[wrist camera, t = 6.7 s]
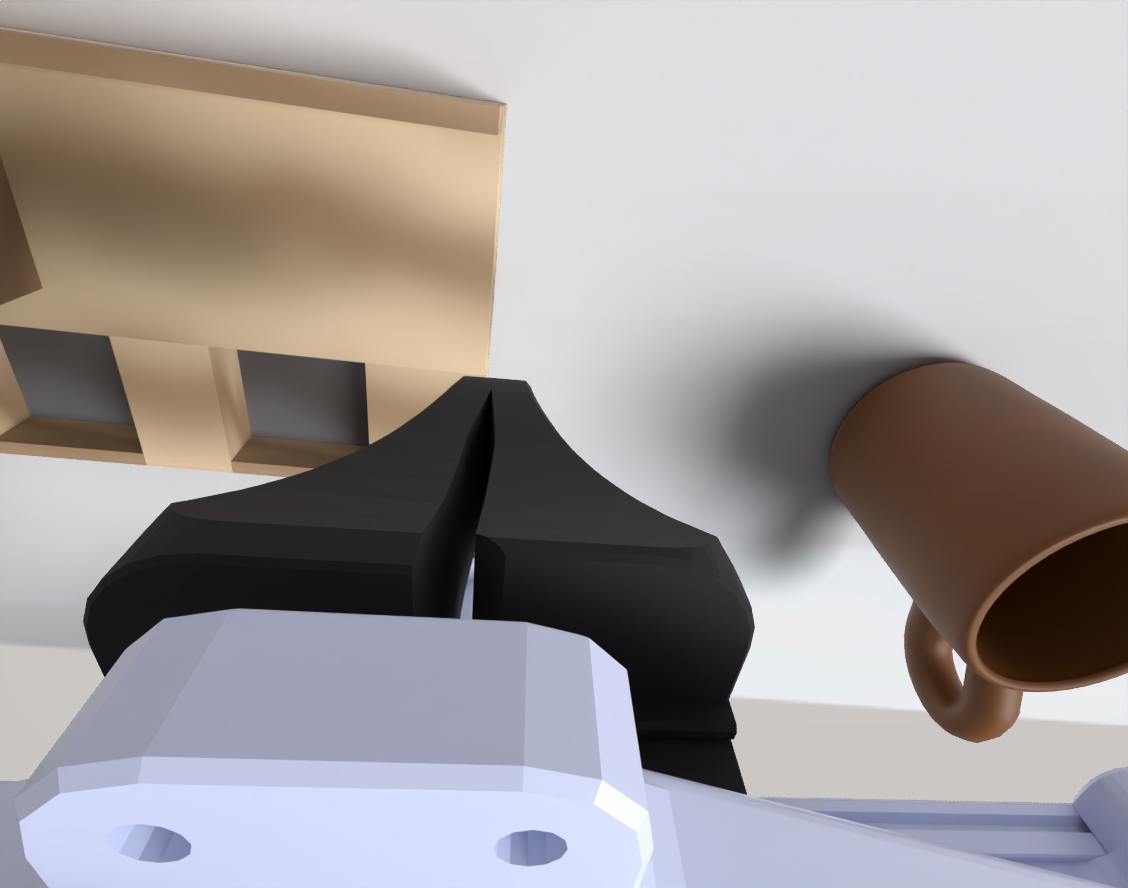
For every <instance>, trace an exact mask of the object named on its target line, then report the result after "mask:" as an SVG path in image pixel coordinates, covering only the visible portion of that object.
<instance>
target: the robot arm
mask: <svg viewBox="0 0 1128 888" xmlns="http://www.w3.org/2000/svg"><path fill="white" fill-rule="evenodd" d="M474 552H475V558H473V556H474ZM83 623H84V626H85V630H86V634H87V638H88V642H89V645H90V647H91V649H92V652H93V654H94V656H95V658H96V660H97V662H98V664H99V666H100V668H101V671H102V673H103V675H104V677H105V678H104V679H103V680H102V682H101V683H100V684H99V686H98V687H97V688H96V690H95V691H94V693H93V694H92V695H91V696H90V698H89V699H88V700H87V702H86V703H85V704H84V706H83V707H82V709H81V710H80V711H79V713H78V714H77V715H76V717H75V718H74V719H73V721H72V722H71V723H70V725H69V726H68V727H67V729H66V730H65V732H64V733H63V734H62V735H61V737H60V738H59V739H58V741H57V742H56V743H55V745H54V746H53V747H52V749H51V750H50V751H49V753H48V754H47V755H46V757H45V758H44V759H43V761H42V762H41V763H40V765H39V766H38V768H37V769H36V770H35V772H34V773H33V774H32V776H31V777H30V778H29V779H26V780H21V781H0V888H1128V767H1126V768H1117V769H1113V770H1110V771H1107V772H1105V773H1102V774H1100V775H1098V776H1097V777H1095V778H1094V779H1092V780H1090V781H1089V782H1088V783H1087V784H1086V785H1085V786H1084V787H1083V788H1082V789H1081V790H1080V791H1079V793H1078V794H1077V795H1076V796H1075V798H1074V801H1073V804H1072V803H1071V804H1069V803H1021V802H976V801H928V800H881V799H879V800H877V799H832V798H786V797H753V796H749V795H747V793H746V789H745V786H744V783H743V779H742V776H741V772H740V769H739V766H738V762H737V759H736V756H735V753H734V749H733V746H732V742H731V739H734V737H735V735H736V733H737V728H736V721H735V718H734V715H733V712H732V709H731V706H730V702H729V698H730V695H731V693H732V690H733V688H734V686H735V683H736V681H737V678H738V676H739V673H740V671H741V669H742V666H743V664H744V661H745V659H746V657H747V654H748V652H749V649H750V646H751V642H752V637H753V633H754V628H755V626H754V620H753V614H752V608H751V605H750V602H749V600H748V598H747V595H746V593H745V590H744V588H743V586H742V583H741V581H740V579H739V577H738V575H737V573H736V570H735V568H734V566H733V564H732V563H731V561H730V559H729V557H728V556H727V554H726V552H725V550H724V549H723V547H722V545H721V543H720V541H719V539H718V538H717V537H716V536H714V535H711V534H709V533H706V532H704V531H702V530H699V529H697V528H694V527H692V526H690V525H687V524H685V523H683V522H680V521H678V520H675V519H673V518H671V517H669V516H666V515H664V514H662V513H661V512H659V511H657V510H655V509H653V508H651V507H649V506H648V505H646V504H644V503H642V502H640V501H638V500H637V499H635V498H634V497H632V496H630V495H629V494H627V493H625V492H624V491H622V490H621V489H620V488H618V487H617V486H615V485H614V484H612V483H611V482H610V481H608V480H607V479H605V478H604V477H603V476H601V475H600V474H599V473H598V472H596V471H595V470H594V469H593V468H592V467H590V466H589V465H588V464H587V463H586V462H585V461H584V460H583V459H582V458H580V457H579V456H578V455H577V454H576V453H575V452H574V451H573V450H572V449H571V448H570V446H569V445H568V444H567V443H566V442H565V441H564V439H563V438H562V437H561V436H560V434H559V433H558V432H557V431H556V429H555V428H554V426H553V425H552V423H551V422H550V421H549V419H548V418H547V416H546V415H545V413H544V412H543V410H542V409H541V407H540V405H539V403H538V402H537V400H536V398H535V396H534V394H533V392H532V390H531V387H530V386H529V384H528V383H527V382H526V381H521V380H509V379H498V378H486V377H474V376H463V377H462V378H460V379H459V380H458V381H457V382H456V383H454V384H453V385H452V386H451V387H450V388H449V389H448V390H447V391H445V392H444V393H443V394H442V395H441V396H440V397H439V398H437V399H436V400H435V401H434V402H433V403H431V404H430V405H429V406H428V407H427V408H425V409H424V410H423V411H422V412H420V413H419V414H418V415H416V416H415V417H413V418H412V419H410V420H409V421H408V422H406V423H405V424H403V425H402V426H400V427H399V428H398V429H396V430H394V431H393V432H391V433H390V434H388V435H386V436H384V437H383V438H381V439H379V440H377V441H375V442H373V443H372V444H370V445H368V446H366V447H364V448H362V449H360V450H358V451H356V452H354V453H351V454H349V455H346V456H344V457H341V458H339V459H336V460H334V461H332V462H329V463H327V464H324V465H322V466H319V467H317V468H314V469H311V470H309V471H306V472H303V473H299V474H296V475H293V476H290V477H287V478H284V479H280V480H277V481H273V482H269V483H266V484H262V485H259V486H254V487H250V488H246V489H242V490H237V491H232V492H228V493H223V494H218V495H213V496H208V497H203V498H198V499H193V500H188V501H182V502H176V503H171V504H170V505H169V506H168V507H167V508H166V509H165V510H164V511H163V512H162V513H161V514H160V515H159V516H158V517H157V518H156V520H155V521H154V522H153V523H152V524H151V525H150V526H149V527H148V528H147V529H146V530H145V531H144V532H143V534H142V535H141V536H140V537H139V538H138V539H137V540H136V541H135V542H134V544H133V545H132V546H131V547H130V548H129V549H128V550H127V551H126V553H125V554H124V555H123V556H122V557H121V558H120V559H119V560H118V562H117V563H116V564H115V565H114V566H113V567H112V568H111V569H110V570H109V572H108V573H107V574H106V575H105V576H104V577H103V578H102V579H101V581H100V582H99V584H98V585H97V586H96V588H95V589H94V590H93V592H92V593H91V594H90V596H89V597H88V598H87V603H86V608H85V614H84V619H83Z"/></svg>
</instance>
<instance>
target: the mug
mask: <svg viewBox="0 0 1128 888" xmlns="http://www.w3.org/2000/svg"><path fill="white" fill-rule="evenodd" d="M829 464H830V474H831V479H832V482H833V485H834V487H835V489H836V492H837V494H838V495H839V497H840V499H841V500H842V502H843V503H844V505H845V506H846V508H847V509H848V510H849V512H850V513H851V515H852V516H853V517H854V519H855V520H856V521H857V523H858V524H859V526H860V527H861V528H862V530H863V531H864V532H865V534H866V535H867V537H868V538H869V540H870V541H871V542H872V544H873V545H874V547H875V548H876V550H877V551H878V552H879V554H880V555H881V557H882V558H883V559H884V561H885V562H886V563H887V565H888V566H889V567H890V569H891V570H892V572H893V573H894V574H895V576H896V577H897V578H898V580H899V581H900V582H901V584H902V585H903V587H904V588H905V589H906V591H907V592H908V593H909V595H910V596H911V597H912V599H913V603H912V606H911V609H910V612H909V614H908V618H907V621H906V626H905V633H904V649H905V658H906V663H907V667H908V672H909V675H910V678H911V680H912V683H913V686H914V689H915V691H916V693H917V695H918V697H919V699H920V701H921V703H922V705H923V706H924V708H925V709H926V710H927V712H928V713H929V715H930V716H931V717H932V719H933V720H934V721H935V722H937V723H938V724H939V725H940V726H941V727H942V728H943V729H944V730H945V731H947V732H949V733H950V734H952V735H954V736H956V737H959V738H962V739H964V740H967V741H971V742H975V743H979V742H983V741H986V740H990V739H993V738H996V737H1000V736H1001V735H1002V734H1003V733H1005V732H1006V731H1007V730H1008V729H1009V728H1010V727H1011V726H1012V725H1013V724H1014V723H1015V721H1016V720H1017V718H1018V716H1019V713H1020V707H1021V701H1022V696H1023V691H1024V692H1051V691H1060V690H1068V689H1074V688H1079V687H1084V686H1088V685H1092V684H1096V683H1100V682H1103V681H1106V680H1109V679H1112V678H1115V677H1118V676H1121V675H1123V674H1126V673H1128V451H1127V450H1125V449H1124V448H1122V447H1120V446H1119V445H1117V444H1115V443H1114V442H1112V441H1110V440H1109V439H1107V438H1106V437H1104V436H1102V435H1101V434H1099V433H1097V432H1096V431H1094V430H1092V429H1091V428H1089V427H1087V426H1086V425H1084V424H1083V423H1081V422H1079V421H1078V420H1076V419H1074V418H1073V417H1071V416H1069V415H1068V414H1066V413H1064V412H1063V411H1061V410H1059V409H1058V408H1056V407H1054V406H1052V405H1051V404H1049V403H1047V402H1045V401H1044V400H1042V399H1040V398H1038V397H1037V396H1035V395H1033V394H1032V393H1030V392H1029V391H1027V390H1025V389H1024V388H1022V387H1020V386H1019V385H1017V384H1015V383H1014V382H1012V381H1010V380H1009V379H1007V378H1005V377H1003V376H1002V375H999V374H997V373H995V372H993V371H991V370H988V369H986V368H983V367H979V366H975V365H971V364H967V363H957V362H951V363H938V364H931V365H925V366H921V367H918V368H914V369H911V370H908V371H906V372H903V373H900V374H898V375H896V376H894V377H892V378H890V379H888V380H887V381H885V382H883V383H882V384H880V385H879V386H877V387H876V388H874V389H873V390H872V391H870V392H869V393H868V394H867V395H866V396H864V397H863V398H862V399H861V400H860V401H859V402H858V403H857V404H856V405H855V406H854V407H853V408H852V410H851V411H850V412H849V413H848V415H847V416H846V417H845V419H844V420H843V422H842V424H841V425H840V427H839V429H838V431H837V433H836V436H835V438H834V441H833V444H832V448H831V453H830V462H829ZM952 648H953V649H954V650H955V651H956V652H957V654H958V655H959V656H960V657H961V659H962V660H963V661H964V662H965V663H966V664H967V666H966V673H965V679H964V685H963V686H962V684H961V682H960V680H959V677H958V675H957V672H956V669H955V666H954V662H953V655H952Z"/></svg>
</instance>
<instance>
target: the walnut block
mask: <svg viewBox="0 0 1128 888" xmlns="http://www.w3.org/2000/svg"><path fill="white" fill-rule="evenodd" d="M40 289H42V285H41V281H40V278H39V275H38V272H37V269H36V266H35V263H34V259H33V256H32V253H31V250H30V247H29V244H28V241H27V238H26V234H25V231H24V228H23V225H22V222H21V219H20V216H19V212H18V209H17V206H16V203H15V200H14V197H13V194H12V190H11V187H10V184H9V181H8V178H7V175H6V172H5V169H4V165H3V162H2V159H1V156H0V305H2V304H5V303H7V302H10V301H12V300H15V299H17V298H20V297H22V296H25V295H27V294H30V293H32V292H35V291H37V290H40Z"/></svg>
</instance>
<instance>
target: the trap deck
mask: <svg viewBox="0 0 1128 888" xmlns="http://www.w3.org/2000/svg"><path fill="white" fill-rule="evenodd" d="M506 115H507V104H503V103H496V102H489V101H483V100H476V99H470V98H463V97H457V96H450V95H444V94H437V93H431V92H424V91H418V90H411V89H405V88H398V87H391V86H385V85H378V84H372V83H365V82H359V81H352V80H346V79H339V78H333V77H326V76H320V75H313V74H306V73H300V72H293V71H287V70H280V69H274V68H267V67H261V66H254V65H248V64H241V63H235V62H228V61H222V60H215V59H208V58H202V57H195V56H189V55H182V54H176V53H169V52H163V51H156V50H150V49H143V48H137V47H130V46H124V45H117V44H110V43H104V42H97V41H91V40H84V39H78V38H71V37H65V36H58V35H52V34H45V33H39V32H32V31H26V30H19V29H12V28H6V27H0V156H1V159H2V162H3V165H4V169H5V172H6V175H7V178H8V181H9V184H10V187H11V190H12V194H13V197H14V200H15V203H16V206H17V209H18V212H19V216H20V219H21V222H22V225H23V228H24V231H25V234H26V238H27V241H28V244H29V247H30V250H31V253H32V256H33V259H34V263H35V266H36V269H37V272H38V275H39V278H40V281H41V285H42V289H40V290H37V291H35V292H32V293H30V294H27V295H25V296H22V297H20V298H17V299H15V300H12V301H10V302H7V303H5V304H2V305H0V453H8V454H19V455H31V456H43V457H55V458H67V459H79V460H90V461H102V462H114V463H126V464H138V465H150V466H161V467H173V468H185V469H197V470H209V471H221V472H233V473H244V474H256V475H268V476H280V477H290V476H293V475H296V474H299V473H303V472H306V471H309V470H311V469H314V468H317V467H319V466H322V465H324V464H327V463H329V462H332V461H334V460H336V459H339V458H341V457H344V456H346V455H349V454H351V453H354V452H356V451H358V450H360V449H362V448H364V447H366V446H368V445H370V444H372V443H373V442H375V441H377V440H379V439H381V438H383V437H384V436H386V435H388V434H390V433H391V432H393V431H394V430H396V429H398V428H399V427H400V426H402V425H403V424H405V423H406V422H408V421H409V420H410V419H412V418H413V417H415V416H416V415H418V414H419V413H420V412H422V411H423V410H424V409H425V408H427V407H428V406H429V405H430V404H431V403H433V402H434V401H435V400H436V399H437V398H439V397H440V396H441V395H442V394H443V393H444V392H445V391H447V390H448V389H449V388H450V387H451V386H452V385H453V384H454V383H456V382H457V381H458V380H459V379H460V378H462V377H463V376H474V377H486V378H488V370H489V356H490V342H491V328H492V313H493V299H494V285H495V271H496V257H497V242H498V228H499V214H500V200H501V186H502V171H503V157H504V143H505V129H506Z"/></svg>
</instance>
